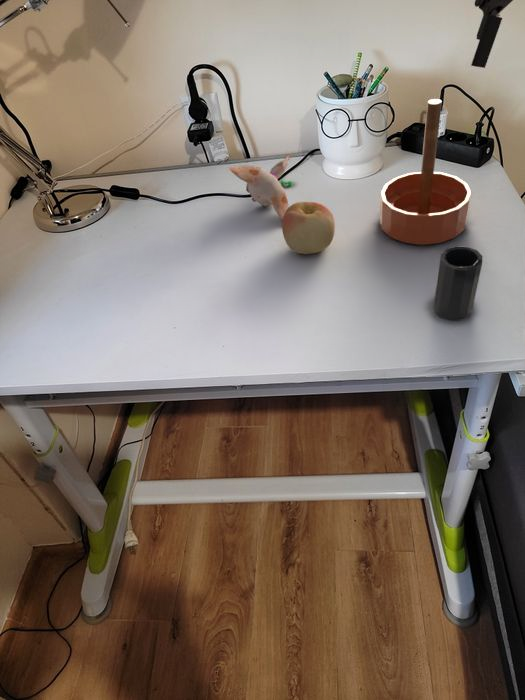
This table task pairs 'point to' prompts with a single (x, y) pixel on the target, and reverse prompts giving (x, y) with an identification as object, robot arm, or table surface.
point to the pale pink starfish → (265, 185)
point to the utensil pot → (457, 282)
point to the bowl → (424, 228)
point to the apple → (308, 227)
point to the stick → (429, 155)
